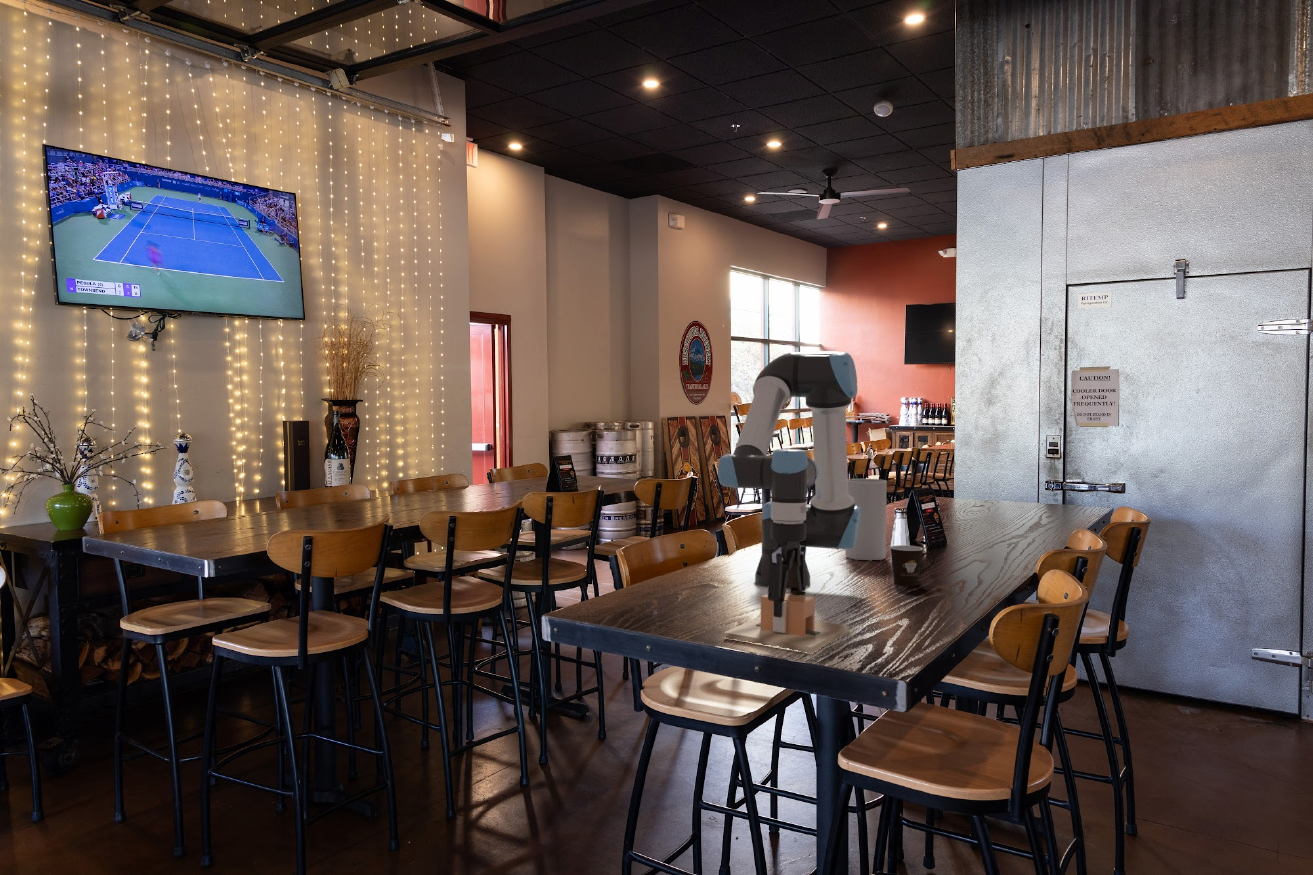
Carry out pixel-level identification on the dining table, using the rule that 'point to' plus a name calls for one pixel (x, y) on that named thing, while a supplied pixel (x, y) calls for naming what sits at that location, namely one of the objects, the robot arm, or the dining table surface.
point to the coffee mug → (907, 564)
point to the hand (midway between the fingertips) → (786, 628)
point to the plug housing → (791, 613)
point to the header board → (789, 635)
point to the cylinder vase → (869, 519)
